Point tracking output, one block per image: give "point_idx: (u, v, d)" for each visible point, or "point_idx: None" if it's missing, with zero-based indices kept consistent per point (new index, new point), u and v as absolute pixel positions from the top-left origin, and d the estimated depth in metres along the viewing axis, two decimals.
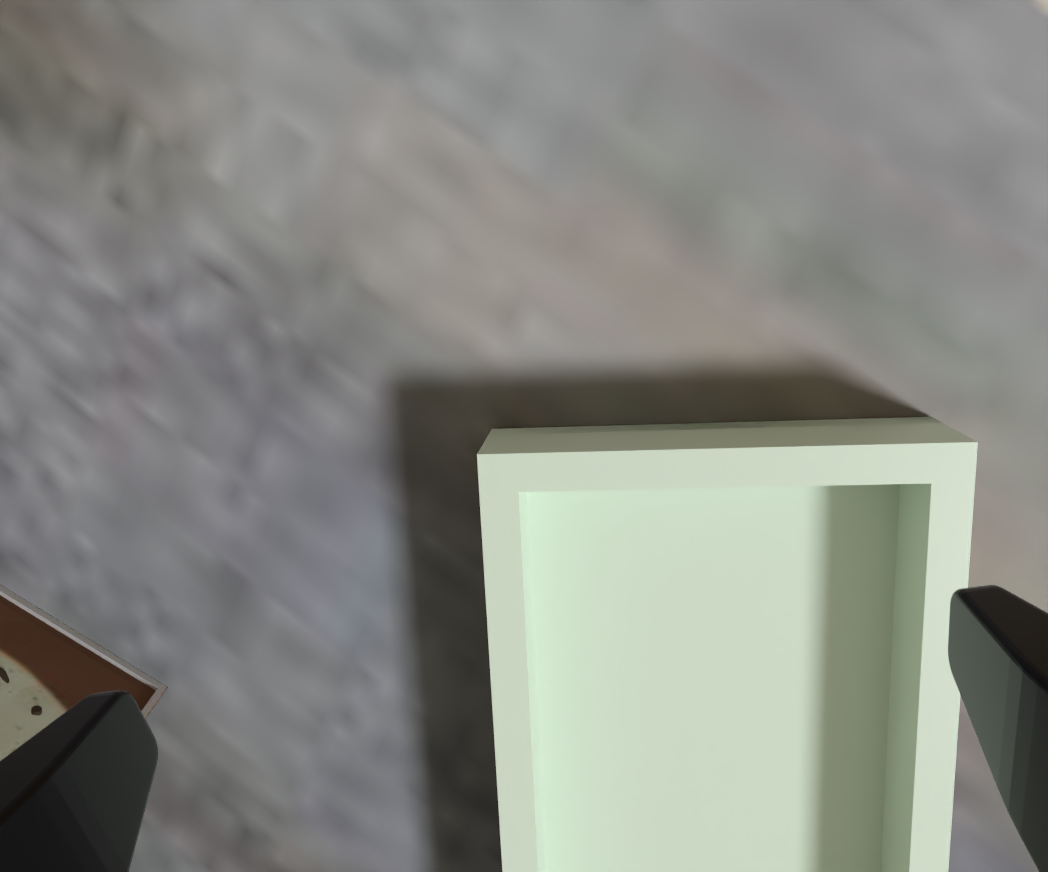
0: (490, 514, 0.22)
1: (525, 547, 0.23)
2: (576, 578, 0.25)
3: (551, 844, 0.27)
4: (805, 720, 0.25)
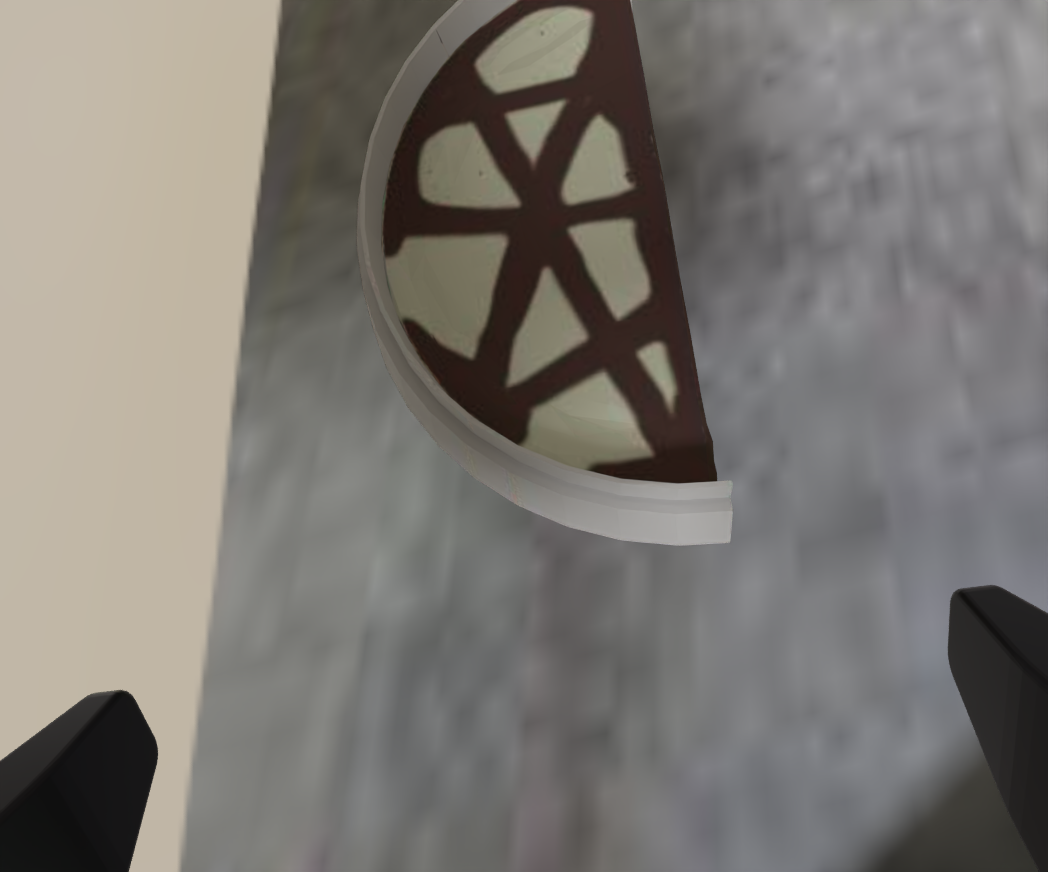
0: None
1: None
2: None
3: None
4: None
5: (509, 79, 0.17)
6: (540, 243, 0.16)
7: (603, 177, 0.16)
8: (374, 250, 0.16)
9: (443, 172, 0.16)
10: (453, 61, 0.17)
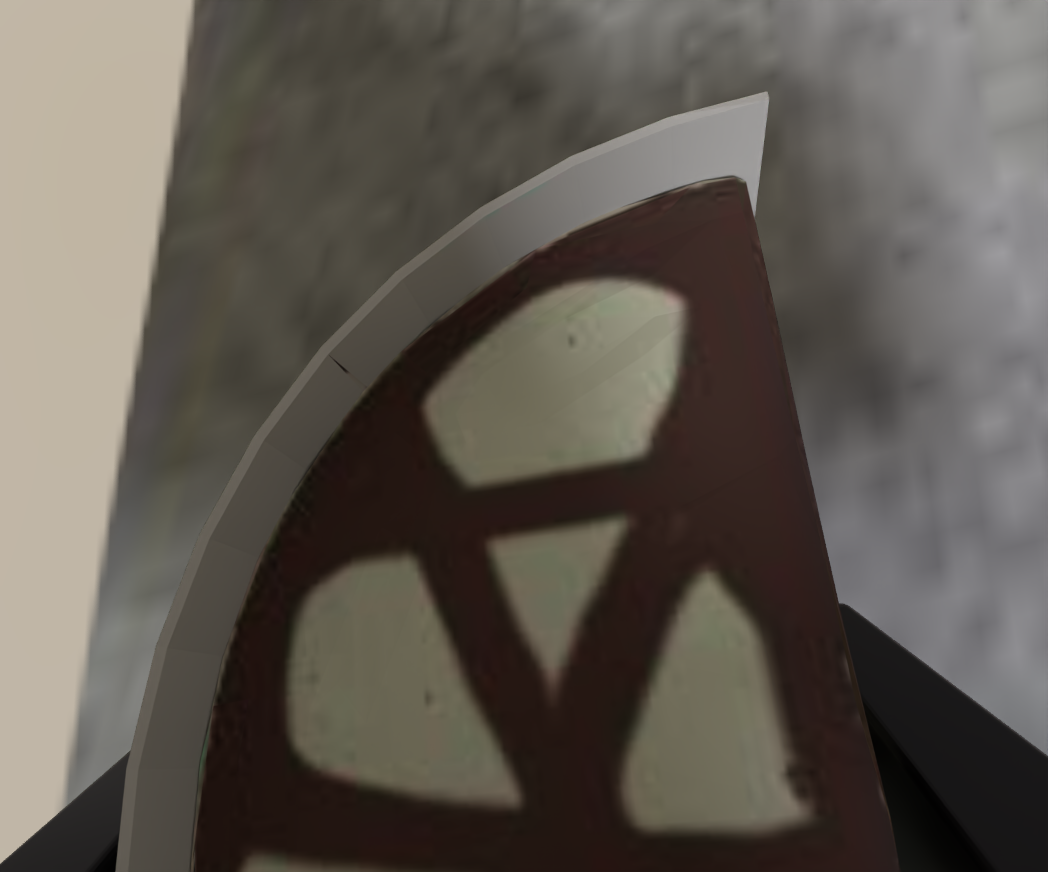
0: None
1: None
2: None
3: None
4: None
5: (498, 452, 0.07)
6: None
7: (728, 766, 0.06)
8: None
9: (343, 683, 0.07)
10: (375, 400, 0.08)
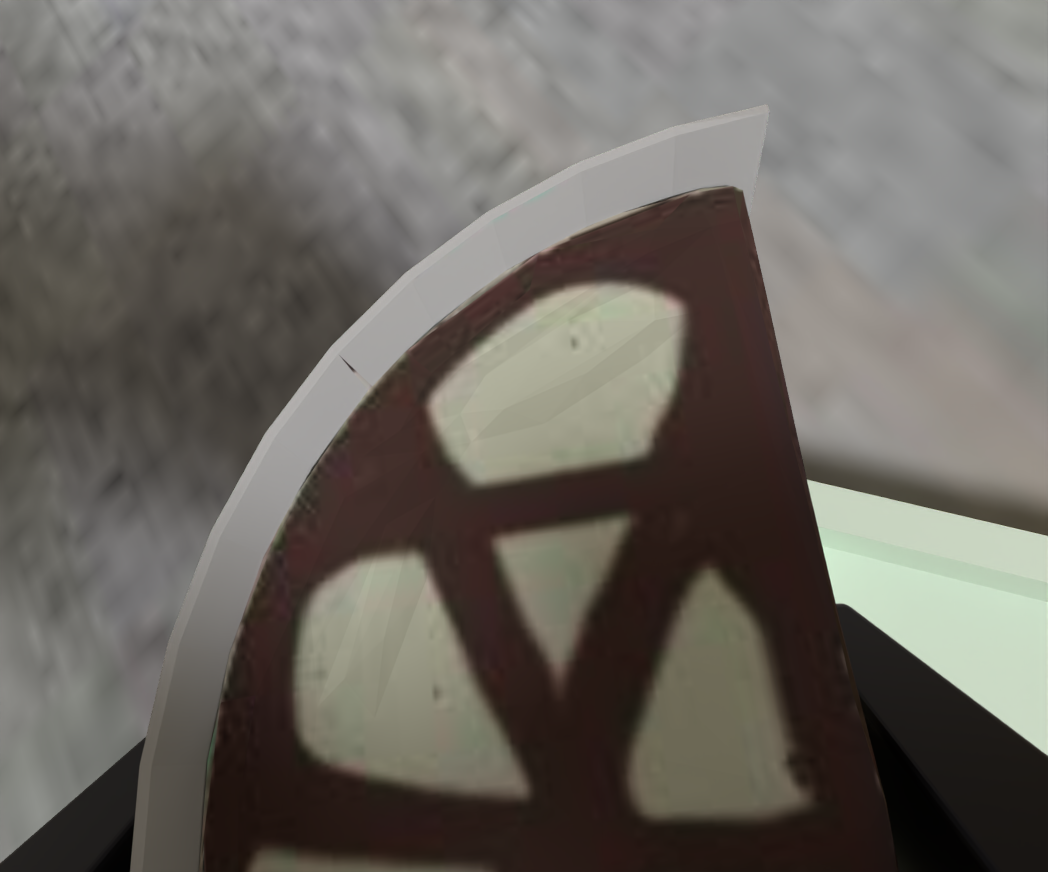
0: None
1: None
2: None
3: None
4: None
5: (503, 451, 0.08)
6: None
7: (731, 755, 0.07)
8: None
9: (350, 678, 0.07)
10: (380, 398, 0.08)
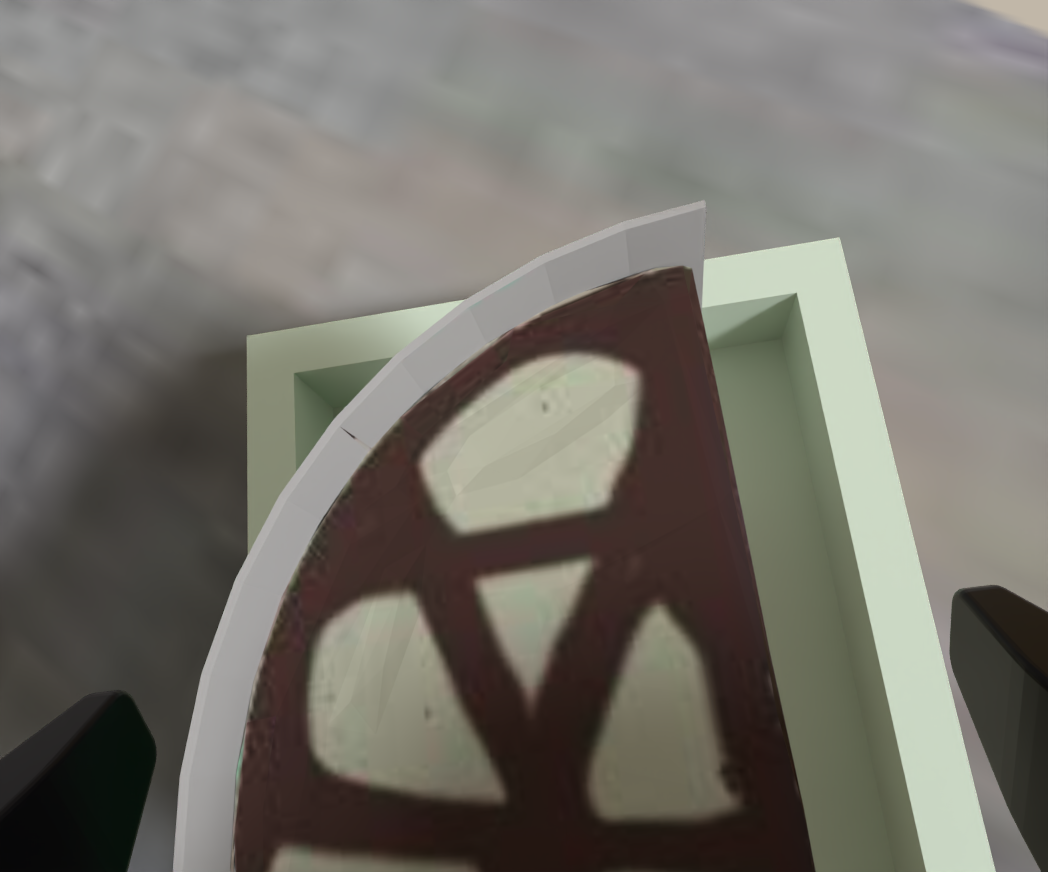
0: (259, 405, 0.17)
1: None
2: None
3: None
4: None
5: (483, 503, 0.09)
6: None
7: (674, 766, 0.08)
8: None
9: (355, 701, 0.09)
10: (378, 459, 0.09)
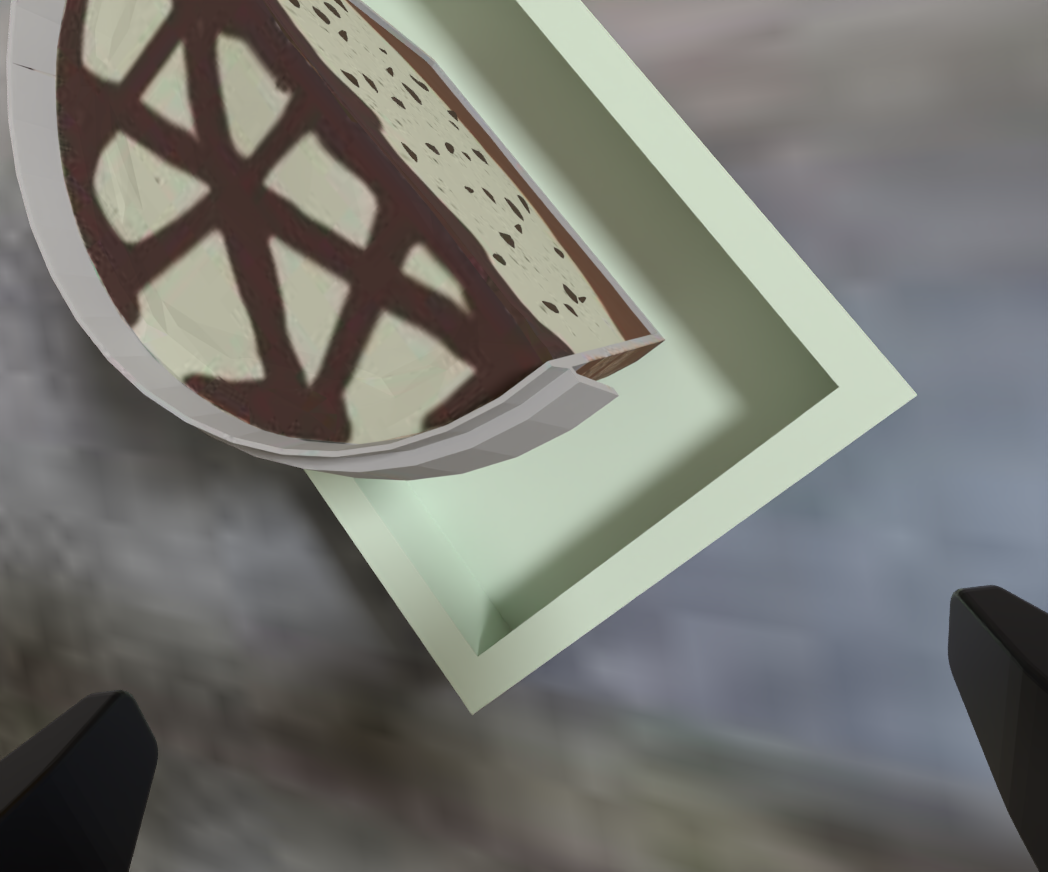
0: None
1: None
2: None
3: (426, 498, 0.23)
4: (539, 178, 0.21)
5: (121, 58, 0.14)
6: (250, 216, 0.13)
7: (259, 103, 0.13)
8: (111, 332, 0.14)
9: (127, 203, 0.14)
10: (62, 78, 0.14)
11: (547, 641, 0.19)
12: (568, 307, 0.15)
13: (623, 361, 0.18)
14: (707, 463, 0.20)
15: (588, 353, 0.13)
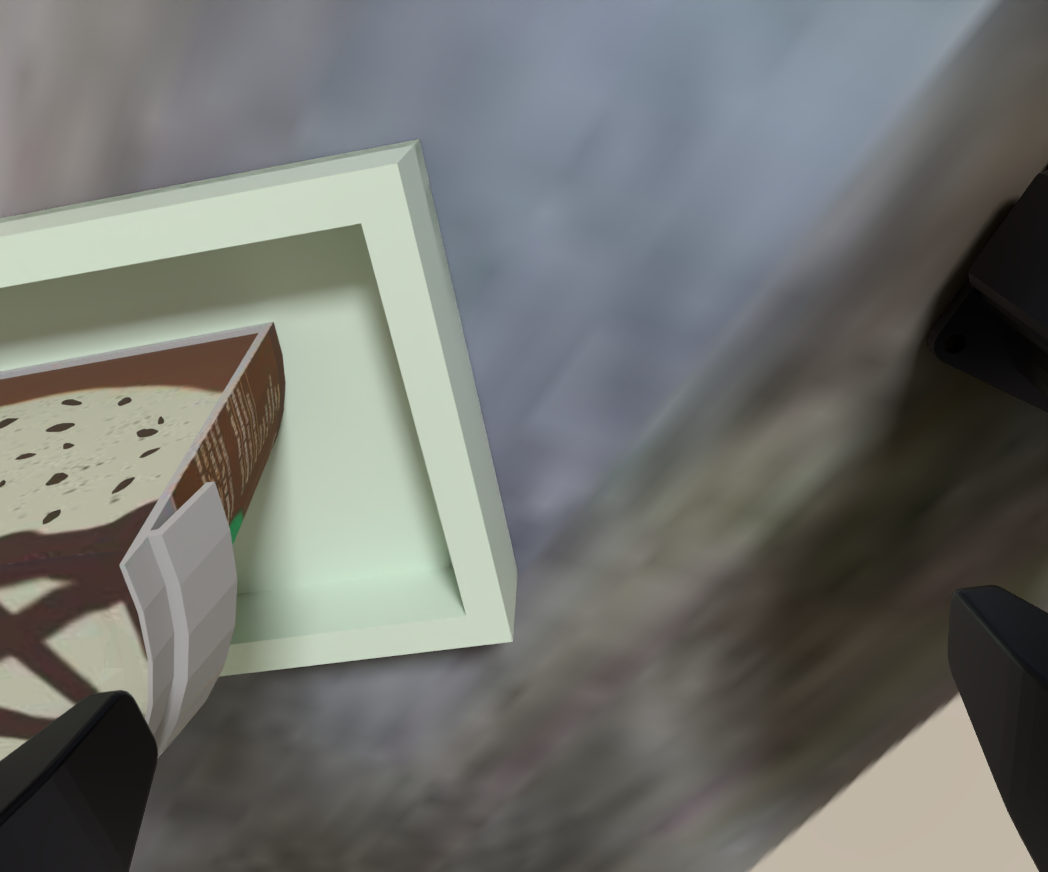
0: None
1: None
2: None
3: (328, 576, 0.24)
4: (76, 352, 0.21)
5: None
6: None
7: None
8: None
9: None
10: None
11: (478, 558, 0.21)
12: (145, 454, 0.15)
13: (251, 392, 0.18)
14: None
15: (169, 484, 0.14)
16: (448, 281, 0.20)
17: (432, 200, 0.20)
